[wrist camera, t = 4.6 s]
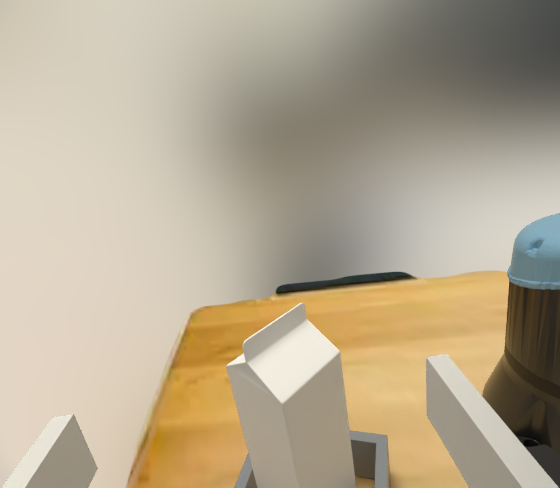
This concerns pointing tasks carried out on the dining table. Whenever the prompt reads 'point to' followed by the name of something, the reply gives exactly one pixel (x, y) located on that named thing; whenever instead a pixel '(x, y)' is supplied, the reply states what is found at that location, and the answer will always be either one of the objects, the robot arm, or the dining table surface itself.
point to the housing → (366, 460)
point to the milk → (293, 406)
